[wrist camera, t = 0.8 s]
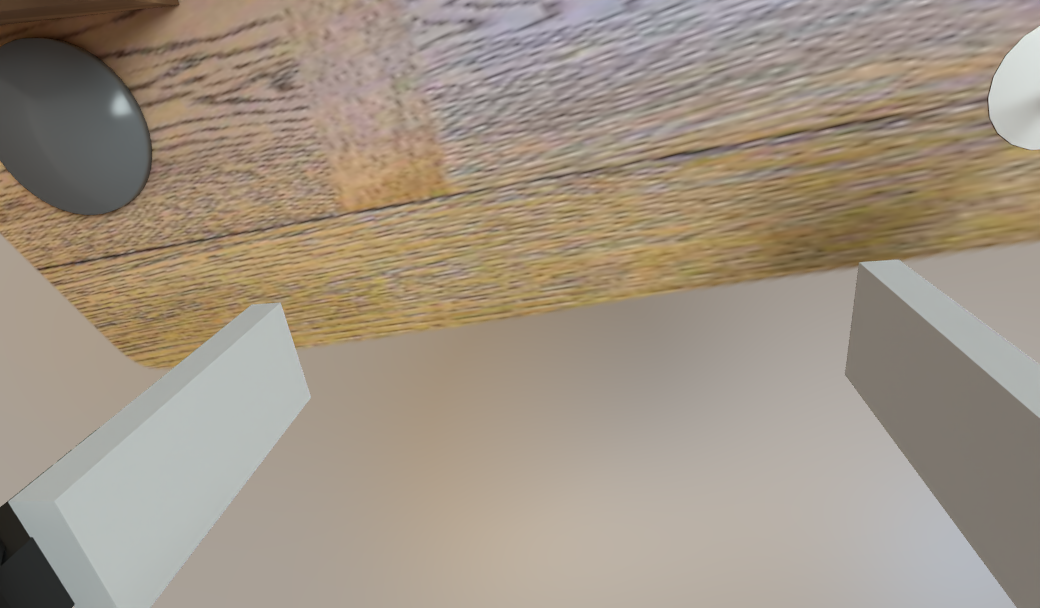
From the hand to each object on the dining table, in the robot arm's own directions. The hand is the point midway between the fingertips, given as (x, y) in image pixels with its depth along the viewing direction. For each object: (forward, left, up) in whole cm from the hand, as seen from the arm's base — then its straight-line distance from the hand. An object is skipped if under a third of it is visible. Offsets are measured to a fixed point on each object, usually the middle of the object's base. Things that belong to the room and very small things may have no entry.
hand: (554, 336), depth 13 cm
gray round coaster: (-3, -36, -27) cm, 45 cm away
